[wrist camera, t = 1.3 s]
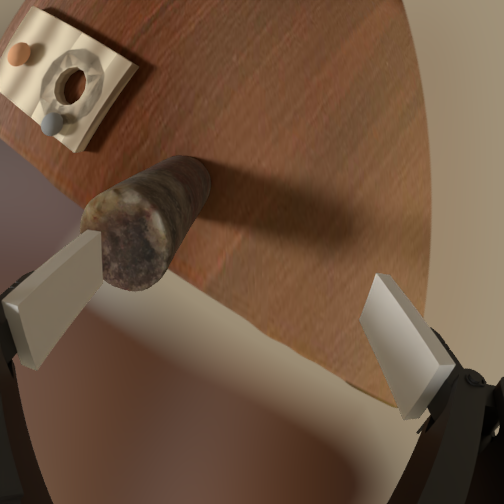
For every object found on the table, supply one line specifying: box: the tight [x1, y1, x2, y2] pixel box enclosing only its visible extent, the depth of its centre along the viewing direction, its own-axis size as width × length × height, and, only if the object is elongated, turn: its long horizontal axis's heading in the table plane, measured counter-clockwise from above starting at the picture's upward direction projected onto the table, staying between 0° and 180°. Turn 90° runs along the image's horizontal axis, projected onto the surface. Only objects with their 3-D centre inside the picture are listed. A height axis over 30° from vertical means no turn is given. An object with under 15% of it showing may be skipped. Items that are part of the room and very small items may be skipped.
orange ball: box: [7, 42, 31, 66], centre depth 25 cm, size 4×4×4 cm
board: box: [0, 6, 139, 153], centre depth 30 cm, size 22×13×2 cm, turn 51°
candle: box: [80, 156, 211, 291], centre depth 28 cm, size 8×7×20 cm
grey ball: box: [41, 112, 63, 136], centre depth 30 cm, size 3×3×3 cm
